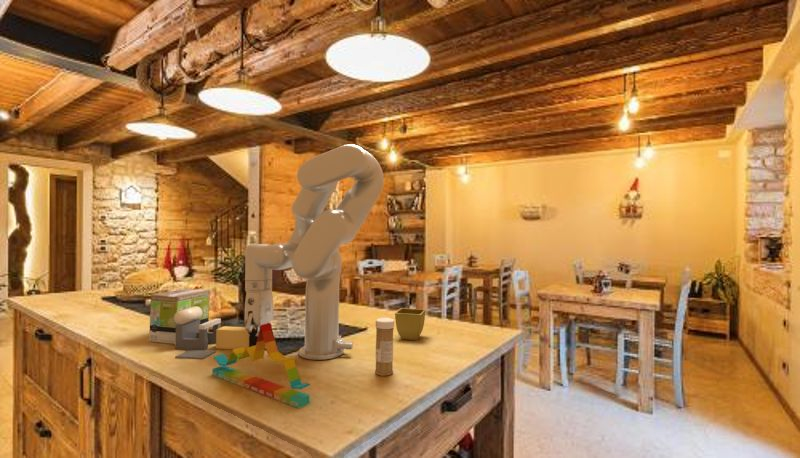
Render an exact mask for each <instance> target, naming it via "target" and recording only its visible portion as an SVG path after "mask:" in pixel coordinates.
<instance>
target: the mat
mask: <svg viewBox="0 0 800 458" xmlns="http://www.w3.org/2000/svg"><path fill="white" fill-rule="evenodd" d="M215 353H216V350H185V351H183V352H181V353H180V354H177V355H175V359H189V360H190V359H191V360H192V359H194V360H196V359H197V360H204V359H206V358H208V357H210V356H212V355H214V354H215Z"/></svg>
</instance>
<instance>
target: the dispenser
mask: <svg viewBox="0 0 800 458" xmlns="http://www.w3.org/2000/svg"><path fill="white" fill-rule="evenodd" d="M201 316H202V310H201V308H200V307H198V306H194V307H191V308H188V309H185V310H182V311H178V312H177V313H176V314H175V315H174V320H175V322H176V323H177V324H178V325H176V344H175V350H183V351H184V350H185V351H188V350H205V351H208V349H209V344H216V330H217V329H219V328H221V327H222V325H221V323H222V319H221V318H213V319H211V320H209V321H208V322H206V323H203V324H201V325H200V319H199V318H200V317H201ZM209 328H212V331H209ZM207 330H208V332H207Z"/></svg>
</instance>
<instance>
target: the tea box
mask: <svg viewBox="0 0 800 458" xmlns="http://www.w3.org/2000/svg"><path fill="white" fill-rule="evenodd" d="M210 295H211V294H210V289H197V288H182V289H178V290H177V289H176V290H172V291H165V292H159V293H154V294H153V293H152V294H151V295H150V310H149V311H150V313H149V330H148V331H149V334H148V340H149V342H152V343H161V344H173V345H176V325H178V324H177V323H176V322H175V320H174V315H175V314H176V313H177V312H178V311H182V310H185V309H188V308H191V307H194V306H198V307H200V308H201V310H202V316H201V317H200V318H199V319H200V325H201V324H203V323H206V322H208V321H210V319H209V318H210V317H209V316H210V313H209V312H210ZM207 332H209V329H208V330H207Z"/></svg>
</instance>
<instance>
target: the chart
mask: <svg viewBox="0 0 800 458" xmlns="http://www.w3.org/2000/svg"><path fill="white" fill-rule="evenodd" d="M276 343H277V342H276V339H275V335H274V331H273V327H272V324H271V322H269V323H268V324H263V325H261V326H260V330H259V335H258V339H257V344H256V345H255V346H251V347H248V348H246V349H244V348H243V347H241V348H237V349H231V353H230V355H229V356H228V357H227V356H226V354H225V353H222V354H218V355H215V356H213V359H214V360H215V362H216V363H217V364H218V366H216V367H214V368H212V369H211V371H212V372H211V373H212V374H211V375H212V376H213V377H216V378H219V379H221V380H224V381H227V382H230V383H231V384H233V385H237V386H240V387H241V388H244V389H247V390H250V391H252V392H255V393H258V394H260V395H264V396H266V397H268V398H270V399H273V400H277V401H278V402H282V403H285V404H287V405H289V406H292V407H294V408H297V409H301V408H302V407H305V406H306V405H308V404H310V403H311V402H310V401H311V399H310V398H311V397H310V396H311V395H310V394H308V393H305V392H302V391H299V390H302V389H304V388H307V387H309V386H311V383H308V382H306V383H305V382H302V381H301V378H300V373H299V371H298V367H297V365H296V361H295V359H294V357H293V356H292V357H291V356H288V357H287V356H285V355H283V354H282V353H281V352H280V351H278V346H277V344H276ZM265 347H266V348H265ZM265 351H266V354H267V357H268V358H270V359H271V360H272V361H273V362H275V363H283V365H284V369H285V371H286V375H287V378H288V382H289V385H290V387H287V386H284V385H281V384H278V383H275V382H272V381H270V380H267V379H265V378H261V377H258V376H255V375H252V374H250V373H247V372H244V371H241V370H238V369H235V368H232V367H230V365H233V364H236V363H237V362H238V360H243V359H246V358H249V357H250V359H251V360H252V361H253V362H255V361H259V360H261V359H264V355H265Z"/></svg>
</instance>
